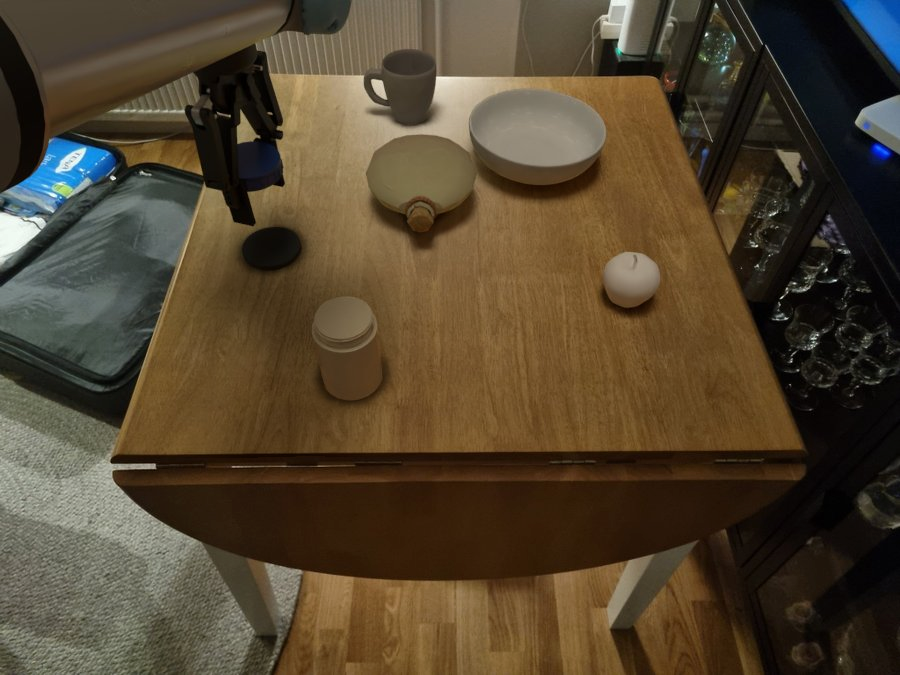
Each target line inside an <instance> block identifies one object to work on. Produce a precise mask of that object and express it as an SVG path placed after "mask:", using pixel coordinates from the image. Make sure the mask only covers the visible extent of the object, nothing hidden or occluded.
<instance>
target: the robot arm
mask: <svg viewBox="0 0 900 675" xmlns="http://www.w3.org/2000/svg"><path fill="white" fill-rule="evenodd" d="M352 2H353V0H0V194H3V193H4V192H6V191H8V190H11V189H12V188H14V187H16V186H18V185H20V184H22V183H23V182H25V181H26V180H27V179H29V178H30V177H32V176H33V175H34V174H35V173H36V171H38V169H39V168H40V166H41V164H43V161H44V160H45V157H46V154H47V153H48V152H47V151H48V149H49V144H50V140H51V139H53V138H55V137H58V136H59V135H62V134H64V133H67V132H68V131H71V130H72V129H75V128H77V127H79V126H81V125H83V124H86V123H87V122H90V121H92V120H94V119H96V118H98V117H100V116H103V115H105V114H107V113H109V112H111V111H113V110H116V109H118V108H120V107H122V106H124V105H126V104H128V103H130V102H132V101H135V100H137V99H139V98H141V97H144V96H146V95H148V94H150V93H152V92H154V91H157V90H158V89H160V88H163V87H165V86H167V85H169V84H171V83H174V82H175V81H178V80H180V79H182V78H184V77H186V76H188V75H190V74H194V75H195V77H196V78H197V82H198V83H197V84H198V95H199V98H198V100H197V101H196V103H195V104H194V105H192V104H186V105H185V107H184V114H185V117H186V118H187V120H188V122H189V124H190V126H191V130H192V134H193V138H194V143H195V147H196V151H197V157H198V160H199V165H200V168H201V174H202V177H203V178H202V179H203V182H204V186H205V187H206V188H207V189H210V190H211V189H212V190H216V191H221V194H222V196H223V200H224V202H225V205H226V206H227V207H228V208H229V212H230V215H231V219H232V221H233V223H236V224H239V225H244V226H250V227H254V226H255V225H256V224H257V221H256V218H255V214H254V210H253V207H252V203H251V199H250V196H249V192H247V189H246V185H245V182H244V180H241V179H239V168H238V144H239V143H238V126H240V125H241V122H242V118H241V112H242V115H244V117H245V119H246V121H247V122H248V123H249V125H250V127H251V129H252V130H253V132H254V133H255V135H256V136H259V137H255V138H253V140H252V141H257V142H264V143H268V144H270V145H272V146H274V147H275V148H276V149H277V150H278V151H279V147H278V144H277V142H278V141H282V139H283V138H284V130H280V129H278V127H282V126H283V124H284V118H283V115H282V114H283V113H282V112H281V107H280V104H279V101H278V98H277V95H276V92H275V88H274V85H273V82H272V78H271V75H270V71H269V65H268V63H269V62H268V54H267V52H266V51H264V50H263V51H262V50H258V48H257V44H256V43H259V42H261V41H263V40H265V39H268V38H271V37H274V36H276V35H278V34H281V33H283V32H296V33H302V34H303V35H304V36H310V35H331V36H332V35H336V34H337V33H339V32H340V31H341V30H342V29H343V27H344V26H345V25H346V23H347V20H348V18H349V15H350V11H351V7H352ZM277 140H278V141H277ZM285 181H286V180H285V177H284V173H283V174H282V176H281V178H280V179H279V180H278V181H277V182H276V183H275V184H273V185H272V186H275V187H280V188H284V186H285V185H286V182H285Z"/></svg>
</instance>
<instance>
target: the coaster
mask: <svg viewBox="0 0 900 675" xmlns="http://www.w3.org/2000/svg"><path fill="white" fill-rule="evenodd" d="M301 252H302V241H301V238H300V237H299V235H298V234H297V233H296V232H295V231H294V230H292V229H290V228H287V227H284V226H268V227H263V228H261V229H258V230H255V231H254V232H252V233H251V234H249V235H248V236H247V237H246V238H245V239H244V240H243V243H242V246H241V254H242V258H243V260H244V261H245V263H246V264H247V265H249V266H251V267H252V268H254V269H257V270H261V271H275V270H280V269H283V268H286V267H287V266H290V265H291V264H293V263H294V262H295V261H296V260H297V259H298V258H299V256H300V255H301Z"/></svg>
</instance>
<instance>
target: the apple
mask: <svg viewBox="0 0 900 675" xmlns="http://www.w3.org/2000/svg"><path fill="white" fill-rule="evenodd" d="M602 284H603V286H604V290H605V292H606V295H607V297H608V299H609V300H610V302H612V304H614V305H617V306H618V307H622V308H624V309H625V308H626V309H629V308H635V307H639V306H640V305H642V304H644V303H645V302H647V301H648V300H650V299H651V298H652V297H653V296H654V295H655V294H656V292H657V291H658V290H659V287H660V285H661V272H660V268H659V266H658V265H657V263H656V262H655V261H654V260H652V258H650V257H649V256H647V254H644V253H642V252H635V251H624V252H621V253H619V254H617V255H615V256H613V257H612V258H610V260H608V261H607V263H606V265H605V266H604V269H603V271H602Z"/></svg>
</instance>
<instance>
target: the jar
mask: <svg viewBox="0 0 900 675" xmlns="http://www.w3.org/2000/svg"><path fill="white" fill-rule="evenodd" d="M311 335H312V339H313V344H314V348H315V352H316V357H317V361H318V365H319V369H320V374H321V377H322V383H323V386H324V388H325V389H326V391H327V392H328V393H329V394H330V395H331V396H333V397H335V398H337V399H339V400H342V401H358V400H363V399H365V398H367V397H369V396H371V395H372V394H374V393H375V392H376V390H378V388H380V385H381V383H382V381H383V376H384V373H383V363H382V353H381V345H380V344H381V343H380V335H379V325H378V320H377V317H376V316H375V313H373V310H372V308H371V306H370V305H369V303H367V302H366V301H365V300H362V299H361V298H358V297H356V296H350V295H342V296H335V297H332V298H330V299H328V300H326V301H324V302H323V303H322V304H320V306H319V307H317V310H316V311H315V314H314V318H313V322H312V324H311Z"/></svg>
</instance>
